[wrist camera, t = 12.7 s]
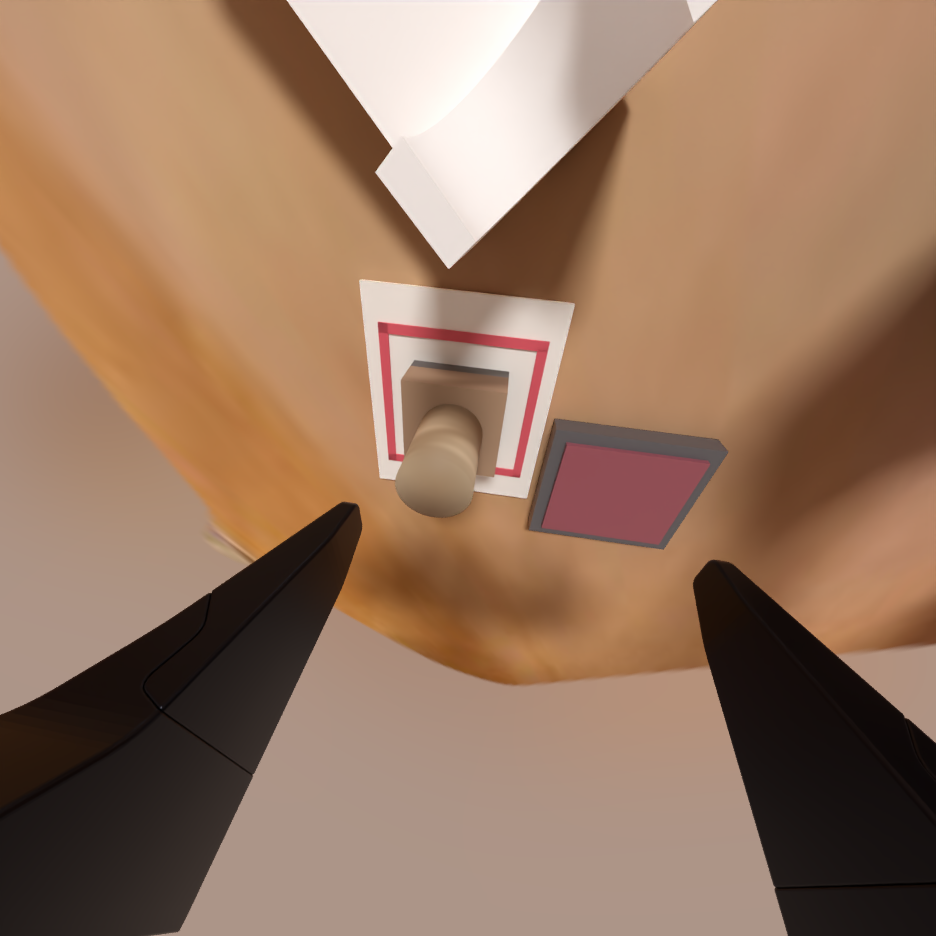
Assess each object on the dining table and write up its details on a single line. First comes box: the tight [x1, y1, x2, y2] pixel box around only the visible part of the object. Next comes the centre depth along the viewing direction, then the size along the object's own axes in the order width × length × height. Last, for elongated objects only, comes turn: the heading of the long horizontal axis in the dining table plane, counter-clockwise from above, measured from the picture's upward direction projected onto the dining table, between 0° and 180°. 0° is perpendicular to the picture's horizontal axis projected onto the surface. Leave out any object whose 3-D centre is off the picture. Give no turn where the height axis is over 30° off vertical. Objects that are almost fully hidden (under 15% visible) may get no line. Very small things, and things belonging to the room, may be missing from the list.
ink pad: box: [529, 419, 728, 550], centre depth 21 cm, size 9×8×2 cm
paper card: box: [359, 279, 575, 499], centre depth 20 cm, size 10×12×1 cm
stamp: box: [395, 360, 509, 518], centre depth 17 cm, size 5×5×7 cm
